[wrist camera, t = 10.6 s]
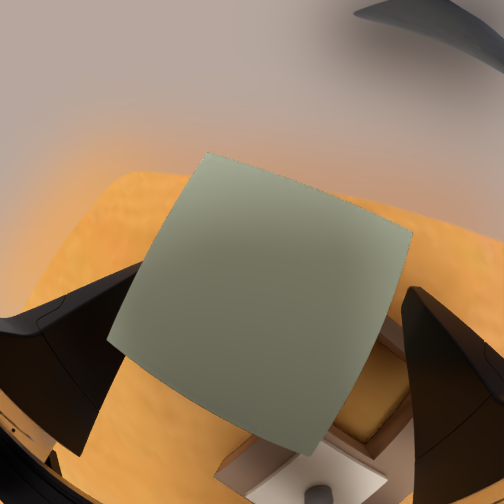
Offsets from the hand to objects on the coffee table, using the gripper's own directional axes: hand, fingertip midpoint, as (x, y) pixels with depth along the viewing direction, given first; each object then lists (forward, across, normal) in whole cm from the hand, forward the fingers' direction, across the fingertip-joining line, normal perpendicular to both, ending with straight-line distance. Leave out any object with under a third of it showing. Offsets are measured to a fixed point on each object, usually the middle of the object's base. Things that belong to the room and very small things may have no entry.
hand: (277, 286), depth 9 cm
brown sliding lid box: (0, -6, +12) cm, 13 cm away
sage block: (+5, 0, +6) cm, 8 cm away
